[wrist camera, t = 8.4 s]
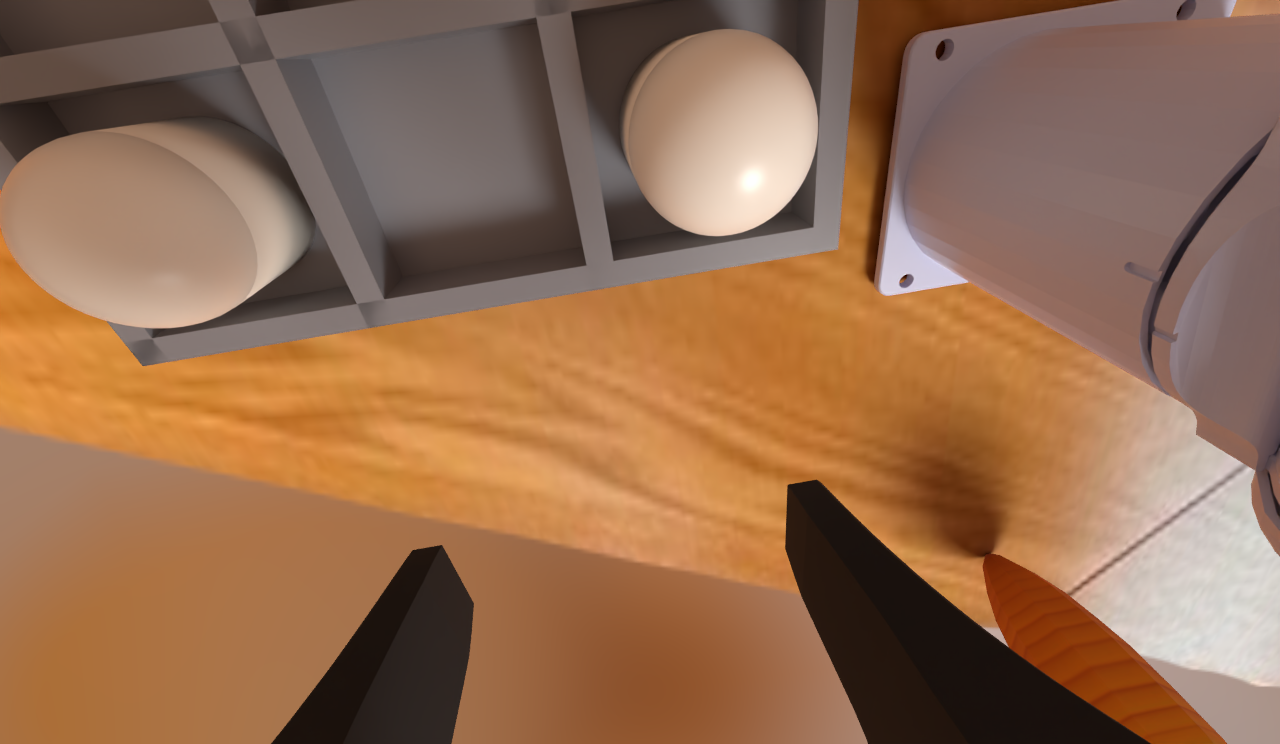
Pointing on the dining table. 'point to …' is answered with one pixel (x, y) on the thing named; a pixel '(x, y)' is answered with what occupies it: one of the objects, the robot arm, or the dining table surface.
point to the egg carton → (406, 154)
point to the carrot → (1088, 656)
